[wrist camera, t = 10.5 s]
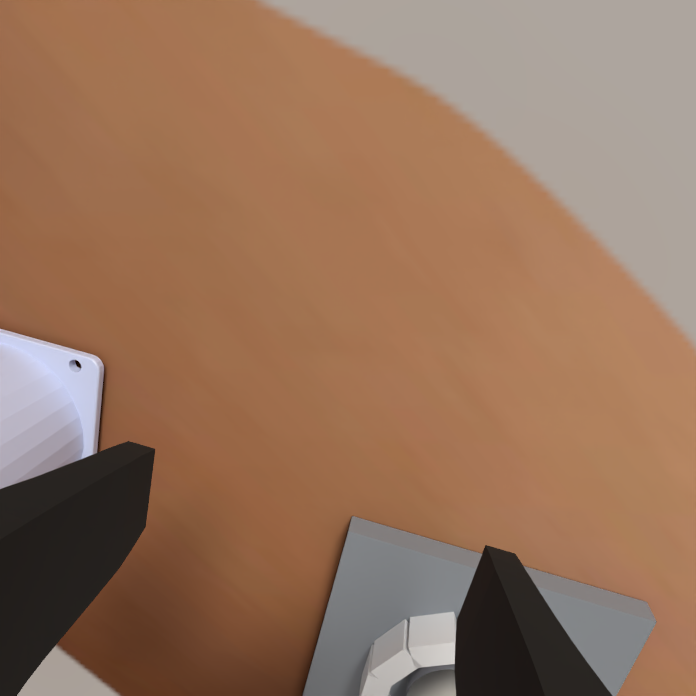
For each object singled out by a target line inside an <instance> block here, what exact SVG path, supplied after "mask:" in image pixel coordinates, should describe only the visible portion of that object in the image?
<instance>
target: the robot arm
mask: <svg viewBox="0 0 696 696" xmlns="http://www.w3.org/2000/svg"><path fill="white" fill-rule="evenodd" d="M75 360H77V361H79V363H80V364H81V368H79V367H77V365H76V363H75ZM103 376H104V365H103V363H102V361H101V360H100V359H99V358H98V357H97V356H95V355H92V354H89V353H85V352H81V351H78V350H74V349H71V348H67V347H64V346H60V345H56V344H53V343H49V342H46V341H42V340H39V339H35V338H31V337H28V336H24V335H21V334H17V333H14V332H10V331H6V330H3V329H0V696H17V694H18V693H19V692H20V690H21V689H22V687H23V686H24V684H25V683H26V682H27V680H28V679H29V678H30V676H31V675H32V674H33V673H34V671H35V670H36V669H37V667H38V666H39V665H40V664H41V662H42V661H43V660H44V658H45V657H46V656H47V655H48V654H49V652H50V651H51V650H52V649H53V648H54V646H55V645H56V644H57V643H58V642H59V640H60V639H61V638H62V637H63V636H64V634H65V633H66V632H67V631H68V630H69V628H70V627H71V626H72V625H73V624H74V622H75V621H76V620H77V619H78V618H79V616H80V615H81V614H82V613H83V612H84V610H85V609H86V608H87V607H88V606H89V604H90V603H91V602H92V601H93V600H94V598H95V597H96V596H97V595H98V594H99V592H100V591H101V590H102V589H103V587H104V586H105V585H106V584H107V583H108V581H109V580H110V579H111V578H112V576H113V575H114V574H115V573H116V571H117V570H118V569H119V568H120V566H121V565H122V563H123V562H124V560H125V559H126V557H127V556H128V554H129V552H130V551H131V549H132V548H133V546H134V545H135V543H136V541H137V540H138V538H139V537H140V535H141V533H142V532H143V530H144V528H145V527H146V519H147V511H148V503H149V495H150V487H151V479H152V471H153V463H154V455H155V449H153V448H150V447H147V446H143V445H140V444H136V443H133V442H129V441H128V442H125V443H122V444H119V445H116V446H114V447H111V448H108V449H106V450H103V451H101V452H98V453H97V447H98V435H99V424H100V412H101V400H102V388H103ZM454 672H455V687H456V696H612V694H611V693H610V692H609V690H608V689H607V688H606V686H605V685H604V684H603V682H602V681H601V680H600V678H599V677H598V676H597V674H596V673H595V672H594V670H593V669H592V668H591V666H590V665H589V664H588V663H587V661H586V660H585V658H584V657H583V656H582V654H581V653H580V651H579V650H578V649H577V647H576V646H575V644H574V643H573V641H572V640H571V639H570V637H569V636H568V634H567V633H566V631H565V630H564V628H563V627H562V625H561V624H560V622H559V621H558V619H557V618H556V616H555V615H554V613H553V612H552V610H551V609H550V607H549V606H548V604H547V602H546V601H545V599H544V598H543V596H542V595H541V593H540V592H539V590H538V588H537V587H536V585H535V584H534V582H533V581H532V579H531V577H530V576H529V574H528V573H527V571H526V570H525V568H524V566H523V565H522V563H521V562H520V560H519V559H518V557H517V556H516V554H514V553H511V552H507V551H504V550H500V549H497V548H494V547H490V546H487V545H486V546H485V548H484V551H483V553H482V556H481V559H480V561H479V564H478V566H477V569H476V572H475V574H474V577H473V579H472V582H471V585H470V587H469V590H468V592H467V595H466V597H465V600H464V603H463V605H462V608H461V610H460V613H459V616H458V618H457V621H456V641H455V670H454Z"/></svg>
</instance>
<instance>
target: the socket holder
mask: <svg viewBox="0 0 696 696" xmlns="http://www.w3.org/2000/svg"><path fill="white" fill-rule="evenodd" d="M481 556H482V554H481V553H477V552H474V551H470V550H467V549H463V548H460V547H457V546H453V545H450V544H446V543H443V542H440V541H436V540H433V539H429V538H426V537H422V536H419V535H416V534H412V533H409V532H405V531H402V530H398V529H395V528H392V527H388V526H385V525H381V524H378V523H375V522H371V521H368V520H364V519H361V518H357V517H354V516H352V519H351V522H350V526H349V529H348V533H347V537H346V540H345V544H344V547H343V551H342V555H341V558H340V562H339V565H338V569H337V573H336V576H335V580H334V583H333V587H332V591H331V594H330V598H329V601H328V605H327V609H326V612H325V616H324V619H323V623H322V627H321V630H320V634H319V637H318V641H317V645H316V648H315V652H314V655H313V659H312V663H311V666H310V670H309V673H308V677H307V681H306V684H305V688H304V691H303V695H302V696H406V689H407V676H408V675H409V674H410V673H412V672H413V671H415V670H416V669H418V668H420V667H430V666H440V665H449V664H455V641H456V621H457V618H458V616H459V613H460V610H461V608H462V605H463V603H464V600H465V597H466V595H467V592H468V590H469V587H470V585H471V582H472V579H473V577H474V574H475V572H476V569H477V566H478V564H479V561H480V559H481ZM524 568H525V570H526V571H527V573H528V574H529V576H530V577H531V579H532V581H533V582H534V584H535V585H536V587H537V588H538V590H539V592H540V593H541V595H542V596H543V598H544V599H545V601H546V602H547V604H548V606H549V607H550V609H551V610H552V612H553V613H554V615H555V616H556V618H557V619H558V621H559V622H560V624H561V625H562V627H563V628H564V630H565V631H566V633H567V634H568V636H569V637H570V639H571V640H572V641H573V643H574V644H575V646H576V647H577V649H578V650H579V651H580V653H581V654H582V656H583V657H584V658H585V660H586V661H587V663H588V664H589V665H590V666H591V668H592V669H593V670H594V672H595V673H596V674H597V676H598V677H599V678H600V680H601V681H602V682H603V684H604V685H605V686H606V688H607V689H608V690H609V692H610V693H611V694H612V696H616V695H617V693H618V692H619V690H620V688H621V686H622V684H623V682H624V681H625V679H626V677H627V675H628V673H629V671H630V670H631V668H632V666H633V664H634V662H635V660H636V659H637V657H638V655H639V653H640V651H641V650H642V648H643V646H644V644H645V642H646V640H647V639H648V637H649V635H650V633H651V631H652V629H653V628H654V626H655V624H656V620H655V618H654V616H653V614H652V612H651V610H650V608H649V606H648V603H647V602H645V601H641V600H638V599H635V598H631V597H628V596H624V595H621V594H617V593H614V592H611V591H607V590H604V589H600V588H597V587H593V586H590V585H587V584H583V583H580V582H576V581H573V580H570V579H566V578H563V577H559V576H556V575H552V574H549V573H546V572H542V571H539V570H535V569H532V568H528V567H525V566H524Z"/></svg>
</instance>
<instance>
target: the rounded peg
mask: <svg viewBox="0 0 696 696" xmlns="http://www.w3.org/2000/svg"><path fill="white" fill-rule="evenodd" d="M454 670H455V664H449V665H440V666H430V667H420V668H418V669H416V670H415V671H413V672H412V673H410V674H409V675H408V676H407V689H406V696H456V687H455V672H454Z"/></svg>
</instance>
